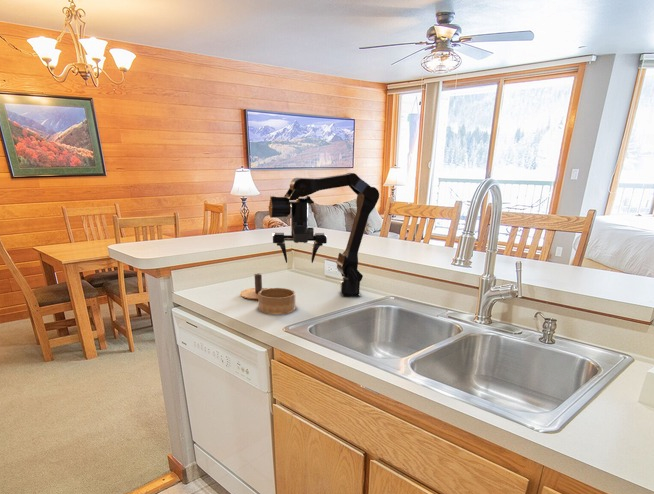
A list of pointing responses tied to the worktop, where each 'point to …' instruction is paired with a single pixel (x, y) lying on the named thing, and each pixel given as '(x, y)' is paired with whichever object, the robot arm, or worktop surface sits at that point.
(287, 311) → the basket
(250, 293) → the lid
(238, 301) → the worktop surface
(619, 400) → the worktop surface
